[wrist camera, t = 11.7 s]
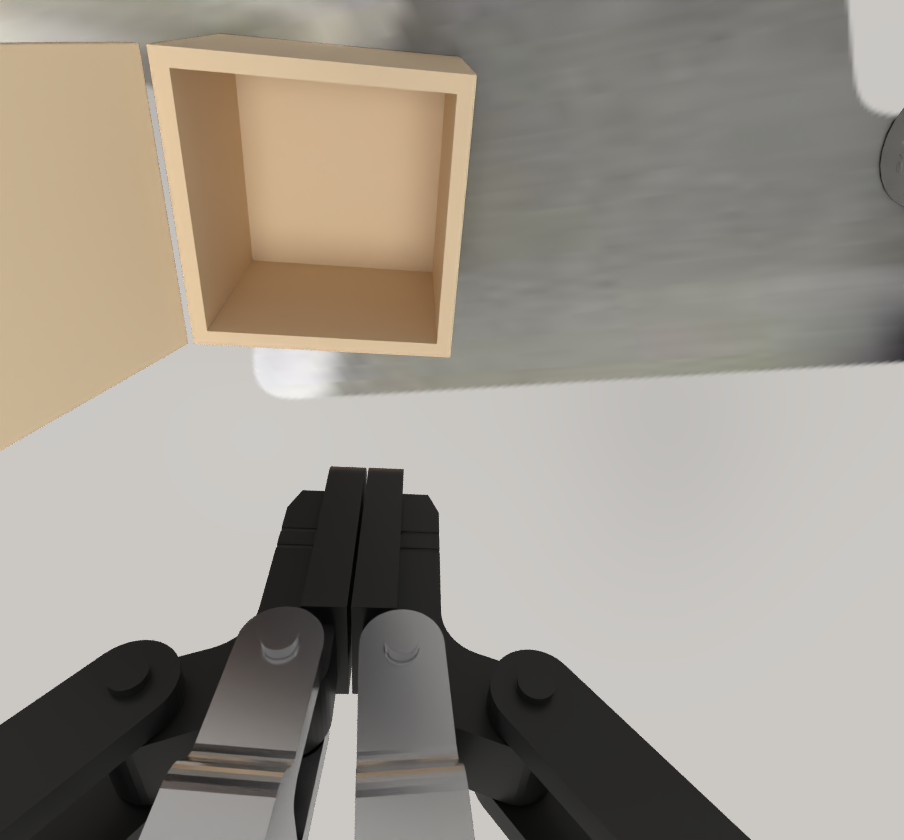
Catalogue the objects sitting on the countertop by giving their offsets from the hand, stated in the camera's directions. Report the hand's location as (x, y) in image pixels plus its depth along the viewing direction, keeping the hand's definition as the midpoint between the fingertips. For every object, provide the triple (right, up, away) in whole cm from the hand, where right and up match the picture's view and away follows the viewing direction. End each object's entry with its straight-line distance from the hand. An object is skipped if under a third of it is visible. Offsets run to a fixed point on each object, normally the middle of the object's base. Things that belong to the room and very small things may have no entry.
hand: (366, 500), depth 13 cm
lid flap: (-14, +8, +11) cm, 20 cm away
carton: (-5, +18, +28) cm, 33 cm away
